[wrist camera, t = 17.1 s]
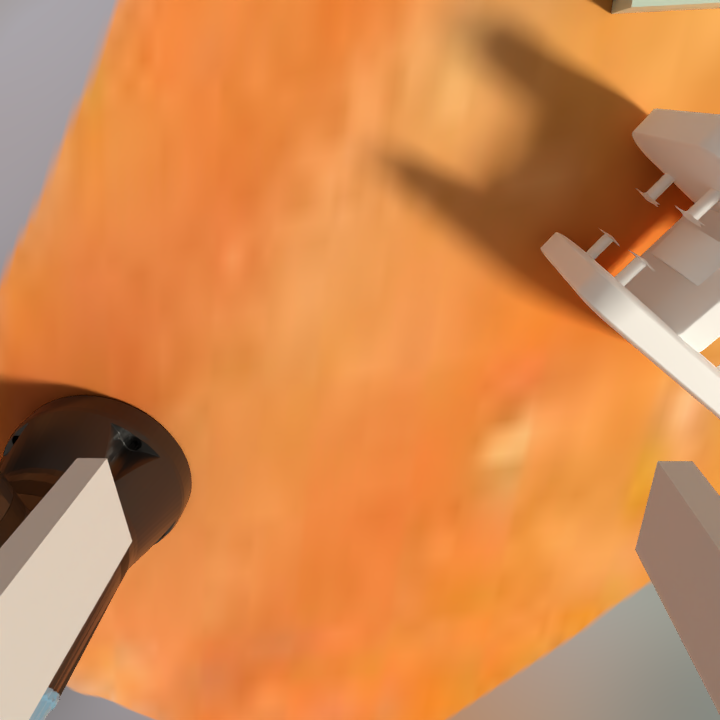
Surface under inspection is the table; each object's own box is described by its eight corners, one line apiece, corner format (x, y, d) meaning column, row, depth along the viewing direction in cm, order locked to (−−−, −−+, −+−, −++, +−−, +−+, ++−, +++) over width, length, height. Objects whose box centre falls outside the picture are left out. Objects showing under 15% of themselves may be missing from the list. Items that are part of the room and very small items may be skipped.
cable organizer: (520, 235, 37) (569, 294, 26) (648, 97, 33) (765, 103, 22) (667, 361, 40) (761, 457, 30) (800, 251, 36) (962, 318, 26)
